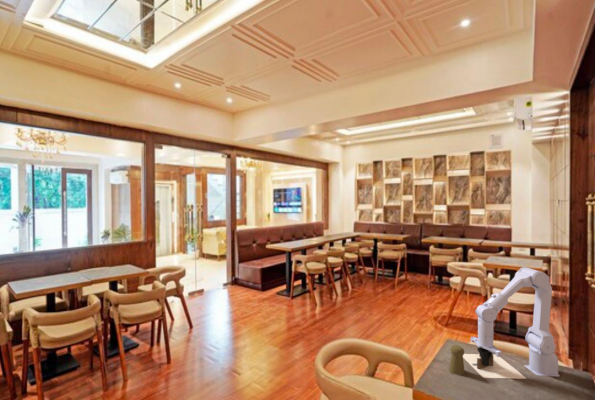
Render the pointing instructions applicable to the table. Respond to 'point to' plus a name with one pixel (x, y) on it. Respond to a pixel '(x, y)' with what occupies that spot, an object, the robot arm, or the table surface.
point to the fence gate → (479, 363)
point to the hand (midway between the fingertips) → (485, 365)
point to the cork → (457, 360)
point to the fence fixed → (490, 359)
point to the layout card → (494, 368)
